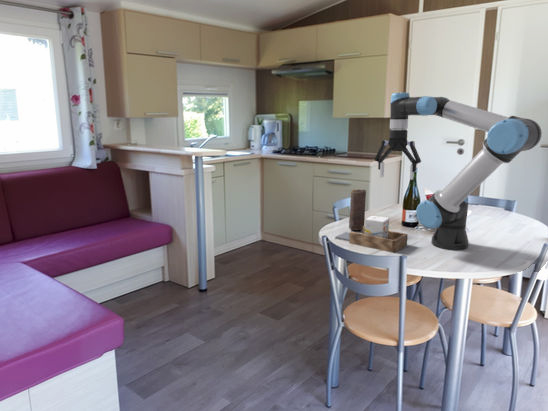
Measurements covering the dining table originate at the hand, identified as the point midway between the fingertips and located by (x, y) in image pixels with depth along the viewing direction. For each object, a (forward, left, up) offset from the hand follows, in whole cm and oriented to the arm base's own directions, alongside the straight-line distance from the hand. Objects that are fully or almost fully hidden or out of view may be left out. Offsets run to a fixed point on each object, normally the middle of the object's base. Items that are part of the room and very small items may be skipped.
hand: (396, 178), depth 196 cm
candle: (+20, -3, -29) cm, 35 cm away
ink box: (+3, +11, -29) cm, 31 cm away
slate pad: (+17, +10, -28) cm, 35 cm away
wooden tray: (+3, +11, -28) cm, 30 cm away
